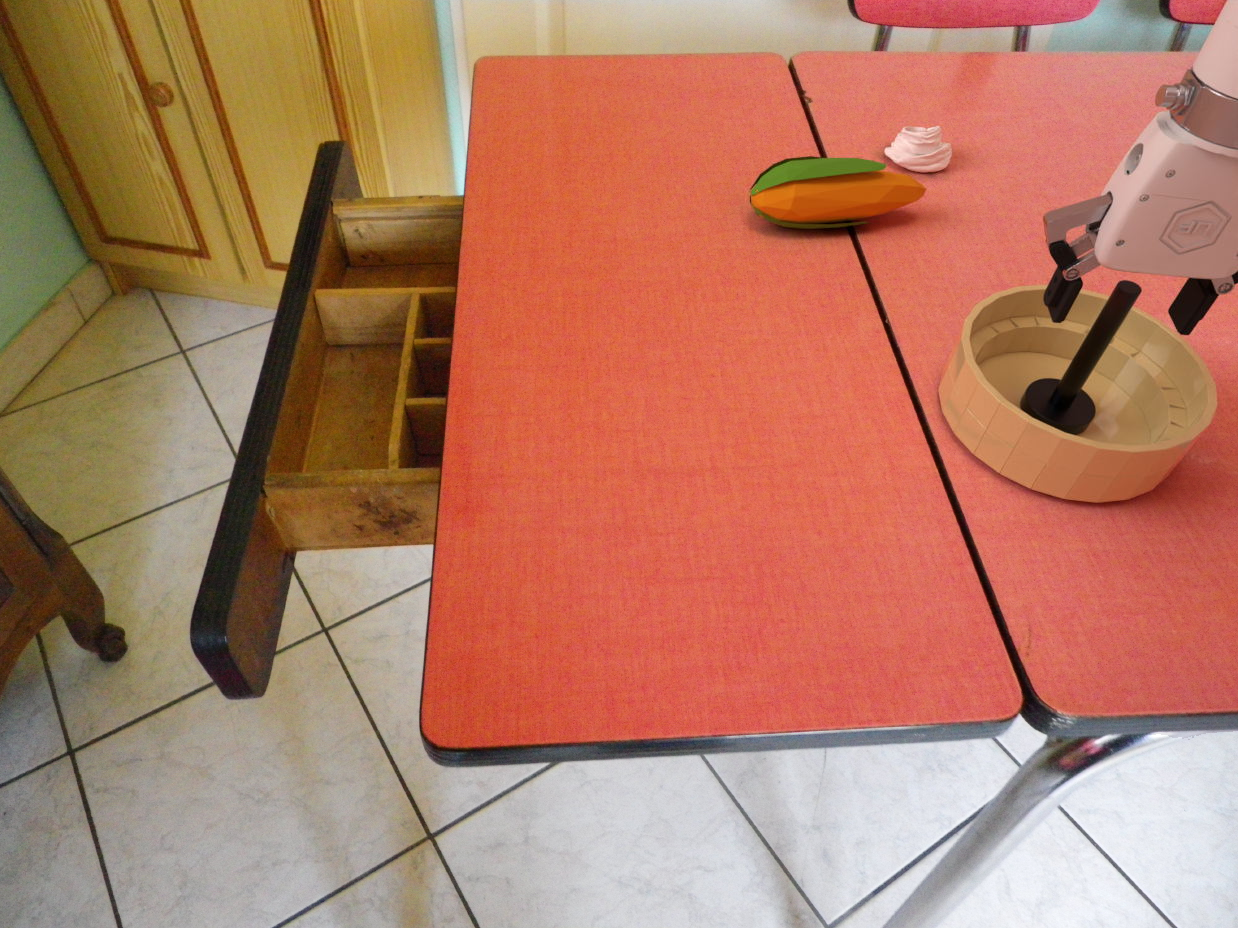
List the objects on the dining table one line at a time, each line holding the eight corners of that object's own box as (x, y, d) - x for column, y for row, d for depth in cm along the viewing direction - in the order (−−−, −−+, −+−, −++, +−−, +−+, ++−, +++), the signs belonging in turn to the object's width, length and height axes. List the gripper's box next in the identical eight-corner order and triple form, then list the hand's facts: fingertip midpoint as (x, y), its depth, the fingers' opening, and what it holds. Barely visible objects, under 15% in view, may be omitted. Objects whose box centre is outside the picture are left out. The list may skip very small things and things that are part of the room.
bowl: (1196, 404, 79) (1240, 347, 73) (1136, 547, 68) (1183, 493, 63) (985, 314, 86) (1011, 257, 81) (900, 431, 75) (924, 373, 70)
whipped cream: (889, 181, 104) (899, 147, 100) (873, 148, 107) (882, 113, 103) (953, 175, 104) (965, 140, 100) (935, 142, 108) (946, 107, 104)
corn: (748, 143, 92) (924, 135, 94) (737, 202, 98) (903, 194, 100) (763, 185, 87) (948, 176, 89) (751, 244, 94) (924, 234, 96)
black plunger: (1097, 408, 77) (1179, 283, 66) (1077, 447, 74) (1159, 322, 63) (1032, 379, 79) (1102, 254, 69) (1010, 416, 76) (1079, 290, 65)
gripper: (1117, 126, 53) (1013, 338, 66) (1407, 150, 52) (1244, 360, 65) (1087, 73, 58) (996, 279, 71) (1352, 94, 57) (1210, 299, 70)
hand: (1114, 318), depth 68 cm, fingers open, 9 cm apart
